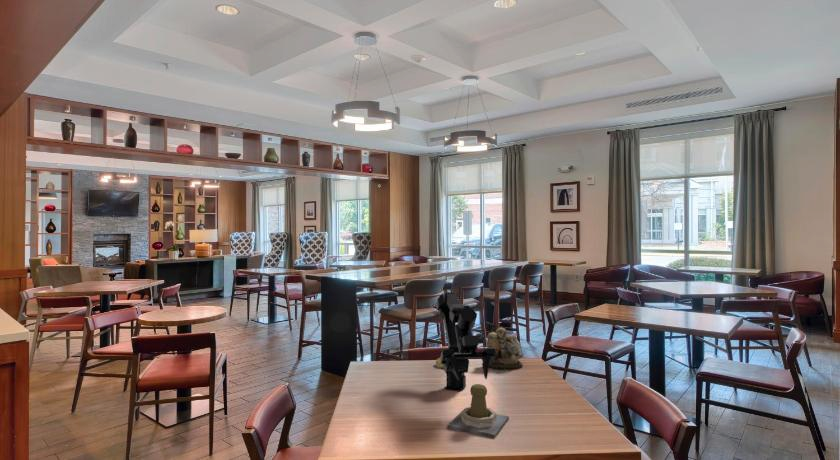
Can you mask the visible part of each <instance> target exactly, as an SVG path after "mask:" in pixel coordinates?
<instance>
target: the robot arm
mask: <svg viewBox="0 0 840 460" xmlns="http://www.w3.org/2000/svg"><path fill="white" fill-rule="evenodd" d="M457 294H458V293H457V292H455V291H449V292H448V291H447V292H444V293H443V294H442V295H441V296H439V297H438V298H436V299H437V300H436V303H435V308H436V311H437V312H438V316H439V317H440V319H442V320H443V324H444V331H445V336H446V341H447V342H446V343H447V347H448V348H447V349H446V348H445V349H442V351H441V354H440V357H439V358H440V361H441V364H444V365H443V366H444V368H443V371H444V373H445V374H446V386H444V389H445V390H452V391H458V392H462V390H464V389H465V387H466V386H467V384H466V382H467V377H466V375H465V373H468V372H469V364H470V360H469V359H481V361H482V363H481V366H482V371H483V376H484V379H485V380H487V378H488V372H489V368H488V366H489V365H490V364H491V363H492V362H494V360H495V358H496V355H497V352H496V349H495V348H487V347H483V349H482V350H483V351H478V346H479V345H481V344H483V343H484V336H483V333H477V334H475V335H473V331H472V329H474V326H475V323H476V320H477V317H478V314H477V312H476V310H475V309H473V308H471V307H470V305H466V304H462V301H460V298H459V297H458V295H457Z"/></svg>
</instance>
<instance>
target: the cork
mask: <svg viewBox="0 0 840 460" xmlns="http://www.w3.org/2000/svg"><path fill="white" fill-rule="evenodd" d="M469 392H470V394H471V403H470V407H471V409H470V417H476V418H485V417H488V413H487V408H488V407H487V399H486V396H487V394H488V389H487V387H486V386H485V385H484V384H482V383H479V384H478V383H476V384H473V385H471V387H470V390H469Z"/></svg>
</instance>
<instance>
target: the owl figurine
mask: <svg viewBox="0 0 840 460" xmlns="http://www.w3.org/2000/svg"><path fill="white" fill-rule="evenodd" d="M486 341H487V342H486V348H495V349H496V352H497V355H496V358H495V360H494V362H492V363H491V364H490V365H489V366H488V369H490V368H492V370H500V371H503V370H504V371H506V370H507V371H511V370H512V371H513V370H519V369H520V368H523V363H522V362H521V361H520V359H522V358H523V357H524V354H522V353H520V352H521V343H520V341H519V340H518V339H517V336H516V335H515V334H510V335H508V336H507V330H506V328H505V327H498V328H497V329H496V330H495V331H491V332H489V333H488V335H487V340H486ZM483 350H484V349H482V350H481V352H483Z"/></svg>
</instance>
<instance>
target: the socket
mask: <svg viewBox="0 0 840 460" xmlns="http://www.w3.org/2000/svg"><path fill="white" fill-rule="evenodd" d="M470 409H471V406H469V407H465V408H464V409H462V410H461V411H460V412H459V414H457V415H456V416H455V417H454V418H453V419H452V420H451V421H450V422H449V423H448V424H447V426H446V427H447V429H449V430H453V431H459V432H463V433H469V434H473V435H477V436H483V437H488V438H493V439H495V438H497V436H498V435H499V433H500V432H501V430H503V428H504V427H505V425H506V424H507V423H508V421H509V420H510V416H509V415H503V414H498V413H497V412H496V411H494V410H493V409H492V408H489V407H487V413H488V417H485V418H476V417H470Z"/></svg>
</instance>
